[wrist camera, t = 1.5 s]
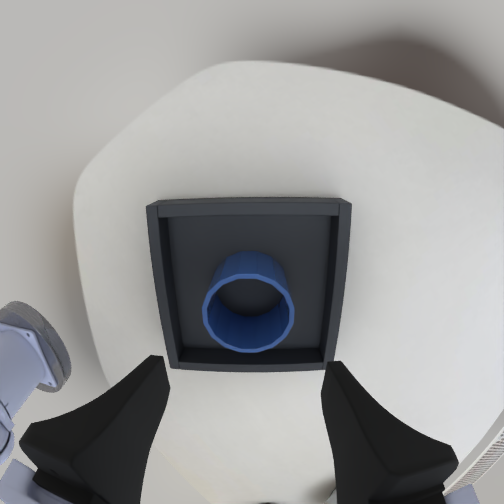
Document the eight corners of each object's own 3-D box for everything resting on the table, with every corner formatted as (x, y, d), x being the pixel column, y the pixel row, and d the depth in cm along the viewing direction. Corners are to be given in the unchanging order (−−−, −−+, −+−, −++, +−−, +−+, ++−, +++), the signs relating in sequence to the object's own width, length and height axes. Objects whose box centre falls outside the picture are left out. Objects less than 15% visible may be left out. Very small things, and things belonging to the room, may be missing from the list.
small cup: (215, 316, 22) (206, 351, 18) (210, 249, 20) (198, 273, 16) (285, 316, 22) (291, 352, 17) (288, 248, 20) (296, 273, 16)
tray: (177, 351, 23) (170, 368, 21) (157, 200, 19) (145, 205, 17) (326, 351, 23) (332, 369, 20) (341, 198, 19) (351, 203, 17)
